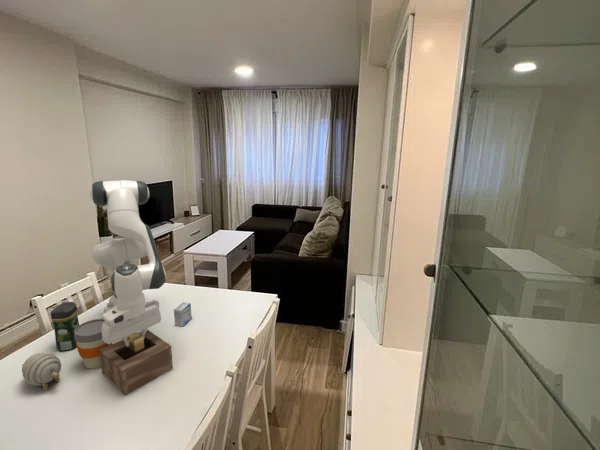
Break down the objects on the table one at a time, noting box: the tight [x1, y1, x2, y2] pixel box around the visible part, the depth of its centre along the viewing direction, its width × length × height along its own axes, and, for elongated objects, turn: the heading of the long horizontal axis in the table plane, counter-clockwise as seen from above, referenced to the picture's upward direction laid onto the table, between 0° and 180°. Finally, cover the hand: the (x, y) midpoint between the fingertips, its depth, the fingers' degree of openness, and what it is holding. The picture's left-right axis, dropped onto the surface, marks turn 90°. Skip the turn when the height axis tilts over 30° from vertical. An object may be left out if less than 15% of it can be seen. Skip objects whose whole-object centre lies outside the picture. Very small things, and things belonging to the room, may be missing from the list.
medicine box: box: [173, 301, 193, 327], centre depth 156 cm, size 8×4×9 cm, turn 168°
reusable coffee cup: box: [74, 318, 113, 369], centre depth 127 cm, size 13×12×15 cm
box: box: [99, 329, 174, 396], centre depth 122 cm, size 18×18×10 cm
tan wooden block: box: [126, 332, 144, 353], centre depth 120 cm, size 6×4×5 cm, turn 53°
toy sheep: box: [21, 352, 62, 391], centre depth 115 cm, size 11×17×11 cm, turn 72°
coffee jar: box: [50, 301, 80, 352], centre depth 135 cm, size 10×8×19 cm
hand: (135, 342), depth 120 cm, fingers closed on tan wooden block, 3 cm apart
